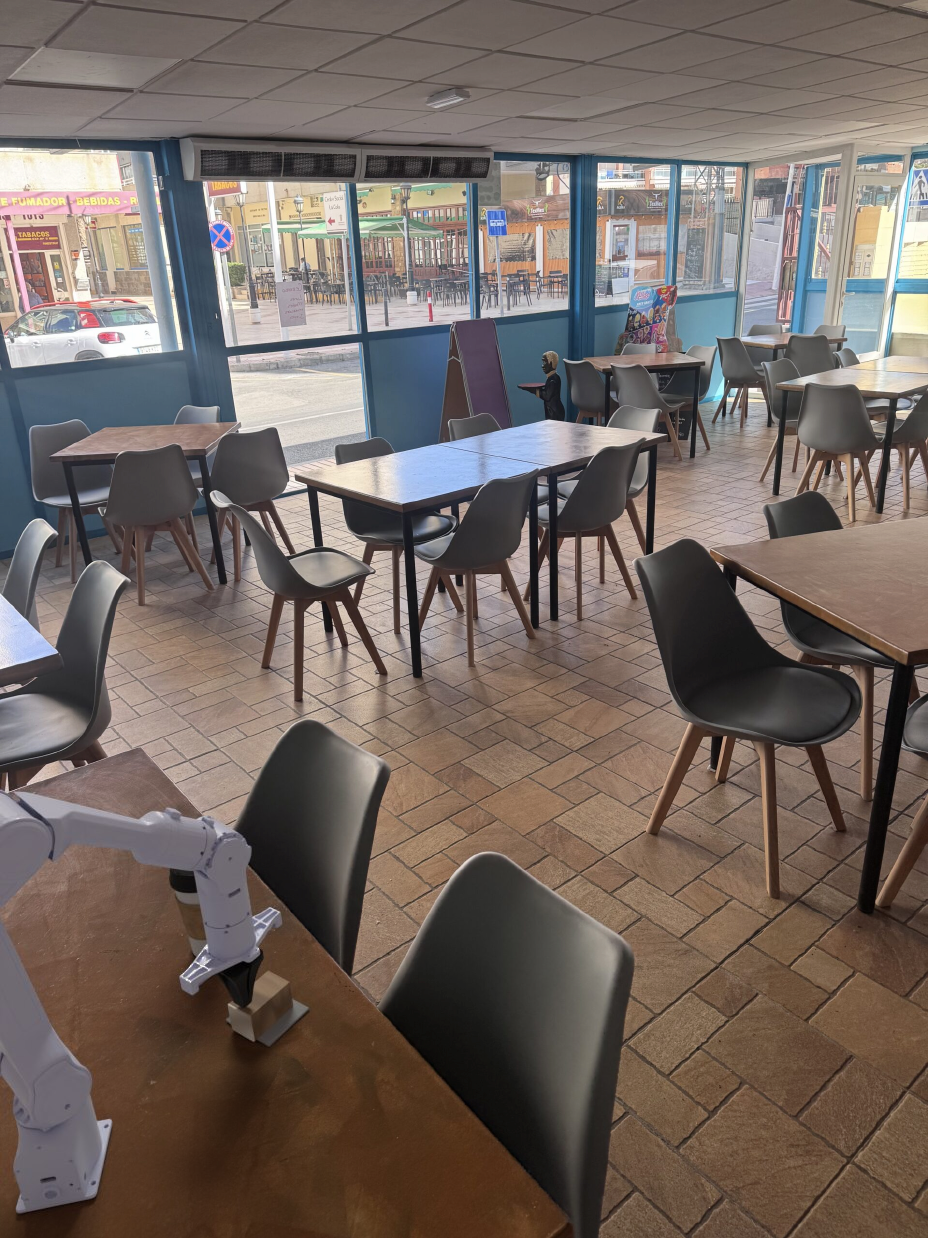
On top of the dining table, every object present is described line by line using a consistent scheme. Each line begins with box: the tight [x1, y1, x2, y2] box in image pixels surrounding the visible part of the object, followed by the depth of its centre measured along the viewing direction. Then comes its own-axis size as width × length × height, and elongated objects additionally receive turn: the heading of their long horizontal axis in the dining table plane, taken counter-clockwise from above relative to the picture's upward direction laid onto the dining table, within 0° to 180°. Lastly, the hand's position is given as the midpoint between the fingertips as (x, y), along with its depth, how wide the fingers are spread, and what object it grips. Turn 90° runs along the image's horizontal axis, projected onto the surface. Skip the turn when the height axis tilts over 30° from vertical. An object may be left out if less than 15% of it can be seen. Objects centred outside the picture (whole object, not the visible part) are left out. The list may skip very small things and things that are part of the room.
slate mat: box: [225, 998, 310, 1048], centre depth 115 cm, size 7×8×1 cm
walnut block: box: [227, 970, 293, 1043], centre depth 113 cm, size 4×4×7 cm
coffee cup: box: [168, 868, 207, 958], centre depth 126 cm, size 8×8×15 cm
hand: (242, 1002), depth 110 cm, fingers closed
